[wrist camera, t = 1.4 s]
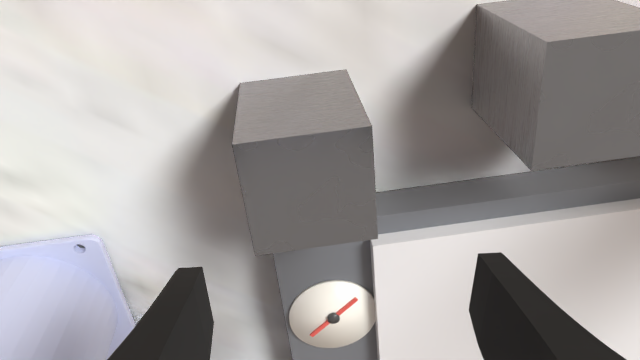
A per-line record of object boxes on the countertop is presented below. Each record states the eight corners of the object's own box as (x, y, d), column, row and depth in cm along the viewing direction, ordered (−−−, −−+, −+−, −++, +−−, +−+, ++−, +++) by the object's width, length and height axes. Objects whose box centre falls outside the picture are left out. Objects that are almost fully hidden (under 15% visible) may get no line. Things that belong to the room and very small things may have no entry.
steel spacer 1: (257, 175, 24) (255, 256, 18) (240, 82, 21) (232, 144, 16) (353, 162, 24) (378, 238, 19) (346, 69, 22) (371, 126, 16)
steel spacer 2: (471, 107, 23) (531, 171, 18) (476, 4, 21) (546, 42, 15) (568, 94, 23) (657, 153, 18) (584, -10, 21) (690, 23, 16)
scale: (306, 416, 32) (309, 459, 30) (268, 207, 24) (268, 242, 22) (612, 371, 33) (639, 409, 31) (672, 152, 25) (716, 180, 23)
